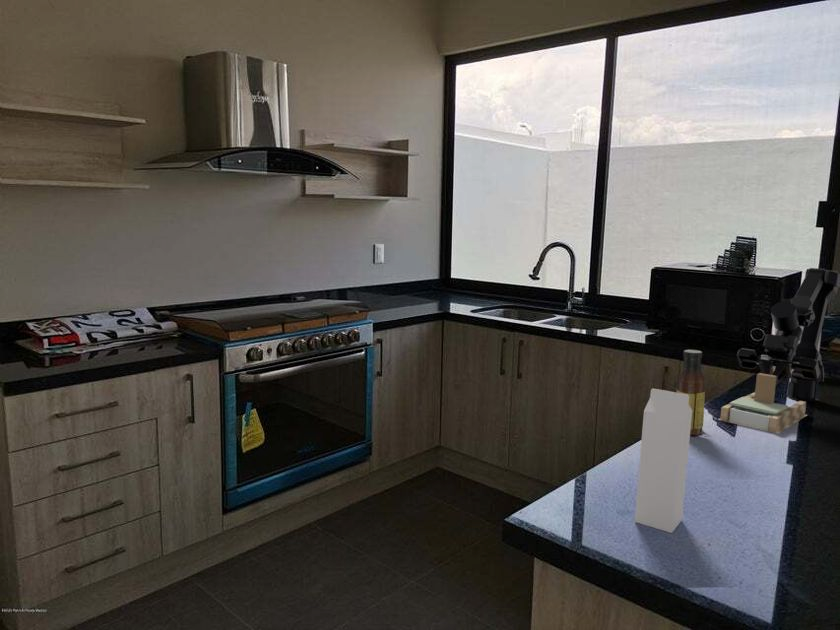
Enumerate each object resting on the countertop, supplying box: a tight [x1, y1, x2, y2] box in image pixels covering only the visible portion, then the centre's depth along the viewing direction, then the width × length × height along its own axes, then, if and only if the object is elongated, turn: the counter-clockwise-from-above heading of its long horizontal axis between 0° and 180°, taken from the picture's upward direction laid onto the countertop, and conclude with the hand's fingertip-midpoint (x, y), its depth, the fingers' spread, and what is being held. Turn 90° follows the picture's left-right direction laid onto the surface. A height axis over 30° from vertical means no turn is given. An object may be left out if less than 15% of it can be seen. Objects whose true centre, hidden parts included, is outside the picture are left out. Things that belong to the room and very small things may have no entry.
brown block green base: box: [729, 372, 789, 415], centre depth 160 cm, size 9×11×8 cm
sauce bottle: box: [676, 349, 706, 436], centre depth 150 cm, size 6×6×20 cm
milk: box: [634, 388, 692, 534], centre depth 103 cm, size 6×6×22 cm
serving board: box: [717, 391, 808, 435], centre depth 164 cm, size 24×14×4 cm, turn 134°
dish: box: [729, 406, 776, 430], centre depth 159 cm, size 9×9×3 cm
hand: (766, 389), depth 163 cm, fingers closed, pressing on brown block green base
